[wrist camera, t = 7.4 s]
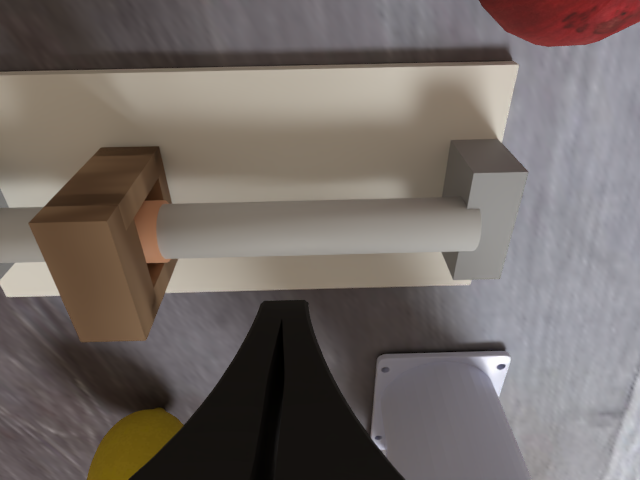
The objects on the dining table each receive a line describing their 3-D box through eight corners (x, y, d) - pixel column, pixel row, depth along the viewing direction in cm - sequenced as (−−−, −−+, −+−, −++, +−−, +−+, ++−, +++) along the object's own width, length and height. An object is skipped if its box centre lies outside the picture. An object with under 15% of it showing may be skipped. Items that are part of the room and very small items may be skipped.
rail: (513, 60, 18) (567, 95, 14) (466, 277, 24) (496, 341, 20) (-99, 73, 18) (-208, 111, 14) (13, 289, 24) (-42, 356, 20)
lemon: (129, 435, 31) (81, 569, 25) (106, 383, 28) (44, 521, 22) (208, 432, 31) (182, 566, 25) (195, 380, 28) (160, 517, 22)
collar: (158, 146, 19) (106, 221, 14) (182, 248, 22) (146, 340, 17) (100, 147, 19) (28, 222, 14) (131, 250, 22) (81, 342, 17)
